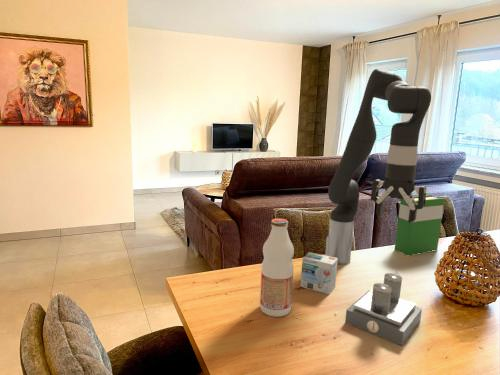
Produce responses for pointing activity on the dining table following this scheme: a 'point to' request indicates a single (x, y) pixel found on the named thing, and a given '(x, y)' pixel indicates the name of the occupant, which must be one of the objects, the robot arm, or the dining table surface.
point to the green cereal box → (419, 227)
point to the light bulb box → (319, 272)
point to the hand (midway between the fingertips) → (394, 219)
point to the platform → (396, 310)
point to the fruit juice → (277, 271)
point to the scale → (384, 324)
